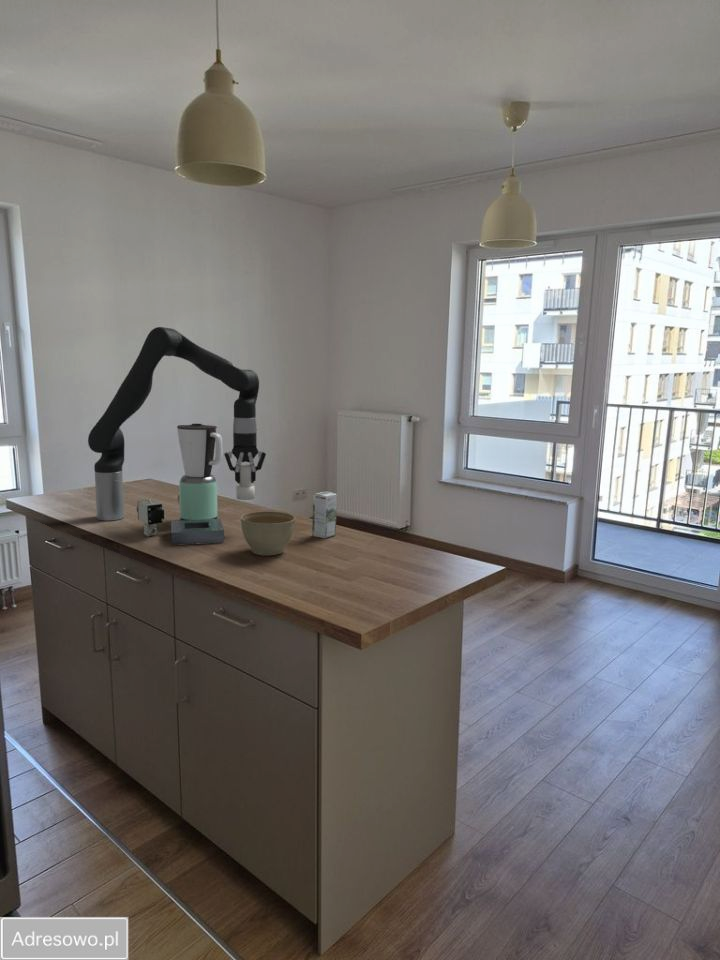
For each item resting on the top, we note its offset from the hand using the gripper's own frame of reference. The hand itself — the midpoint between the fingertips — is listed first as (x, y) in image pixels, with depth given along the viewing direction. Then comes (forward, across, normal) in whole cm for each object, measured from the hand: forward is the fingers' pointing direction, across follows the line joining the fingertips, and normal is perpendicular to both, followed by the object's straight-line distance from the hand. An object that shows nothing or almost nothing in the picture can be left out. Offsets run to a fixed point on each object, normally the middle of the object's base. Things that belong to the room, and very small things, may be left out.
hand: (245, 482), depth 213 cm
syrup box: (+17, -25, +9) cm, 32 cm away
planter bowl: (+17, -4, +24) cm, 30 cm away
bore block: (+17, +16, +3) cm, 24 cm away
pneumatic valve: (+17, +30, -3) cm, 35 cm away
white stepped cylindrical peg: (+5, 0, 0) cm, 5 cm away
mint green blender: (+17, +14, -18) cm, 29 cm away
